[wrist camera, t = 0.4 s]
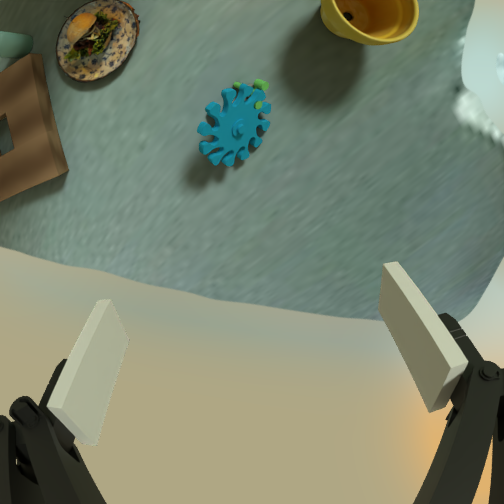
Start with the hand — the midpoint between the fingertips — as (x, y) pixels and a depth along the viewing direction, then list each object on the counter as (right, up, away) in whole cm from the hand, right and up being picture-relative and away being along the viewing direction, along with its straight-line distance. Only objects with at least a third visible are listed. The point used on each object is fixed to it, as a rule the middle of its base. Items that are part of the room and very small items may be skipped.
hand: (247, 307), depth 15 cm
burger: (-19, +30, +15) cm, 39 cm away
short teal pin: (-32, +31, +13) cm, 47 cm away
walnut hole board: (-35, +20, +19) cm, 45 cm away
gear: (-1, +19, +22) cm, 29 cm away
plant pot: (+12, +32, +16) cm, 38 cm away
